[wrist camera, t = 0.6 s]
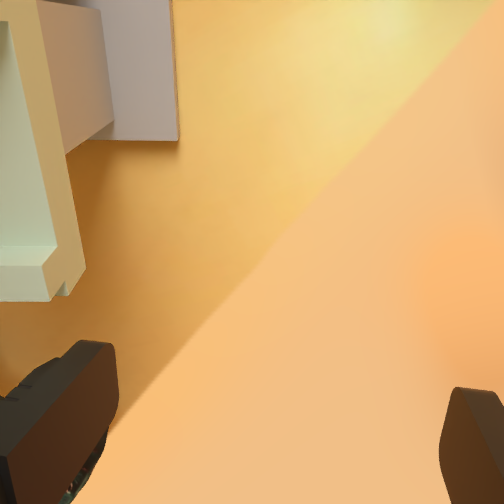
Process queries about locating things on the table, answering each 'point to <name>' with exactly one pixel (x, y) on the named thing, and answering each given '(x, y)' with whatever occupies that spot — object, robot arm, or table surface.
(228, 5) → the table surface
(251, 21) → the table surface
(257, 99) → the table surface
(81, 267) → the cradle stand
